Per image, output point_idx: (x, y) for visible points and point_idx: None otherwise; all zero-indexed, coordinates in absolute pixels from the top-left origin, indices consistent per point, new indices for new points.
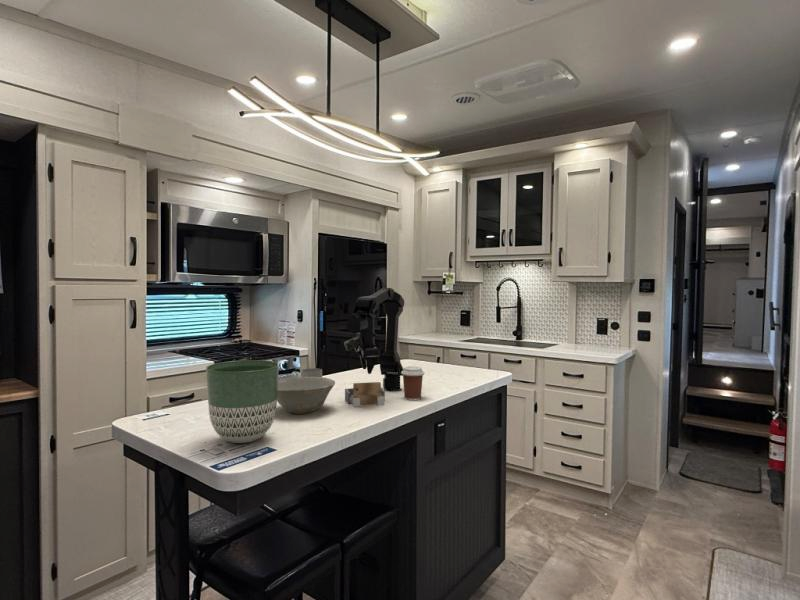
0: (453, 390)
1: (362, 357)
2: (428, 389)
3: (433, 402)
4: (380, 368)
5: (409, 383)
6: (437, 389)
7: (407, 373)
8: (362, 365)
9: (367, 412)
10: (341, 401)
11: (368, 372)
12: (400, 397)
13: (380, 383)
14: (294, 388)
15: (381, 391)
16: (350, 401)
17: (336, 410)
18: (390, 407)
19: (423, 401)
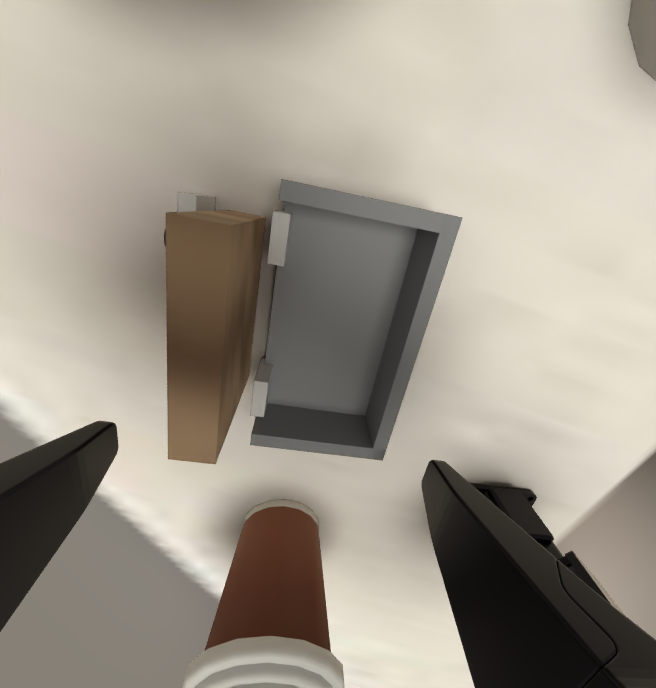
0: None
1: (550, 652)
2: (393, 609)
3: (179, 561)
4: (600, 594)
5: (230, 594)
6: (375, 629)
7: (216, 670)
8: (453, 491)
9: (38, 232)
10: (380, 165)
11: (82, 434)
12: (315, 491)
13: (170, 453)
14: None
15: (287, 432)
16: (292, 206)
17: (130, 15)
18: (134, 390)
19: (207, 539)
